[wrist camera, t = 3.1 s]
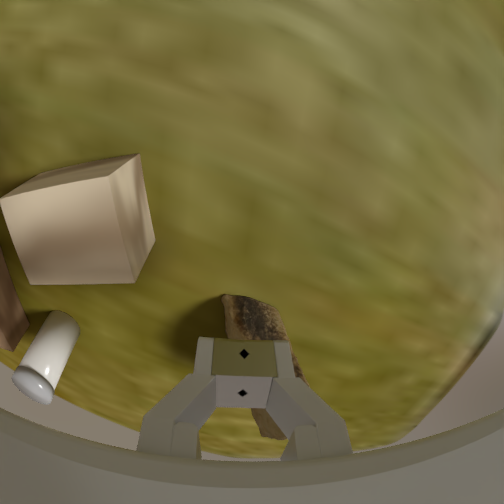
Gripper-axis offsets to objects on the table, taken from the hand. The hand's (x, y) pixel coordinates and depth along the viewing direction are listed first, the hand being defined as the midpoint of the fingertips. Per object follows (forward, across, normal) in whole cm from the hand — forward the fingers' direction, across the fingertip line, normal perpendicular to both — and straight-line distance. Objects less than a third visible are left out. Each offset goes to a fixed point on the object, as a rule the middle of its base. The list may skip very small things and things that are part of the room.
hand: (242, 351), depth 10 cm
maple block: (+11, +10, -1) cm, 15 cm away
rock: (+11, -2, +11) cm, 16 cm away
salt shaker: (+11, +16, +11) cm, 22 cm away
